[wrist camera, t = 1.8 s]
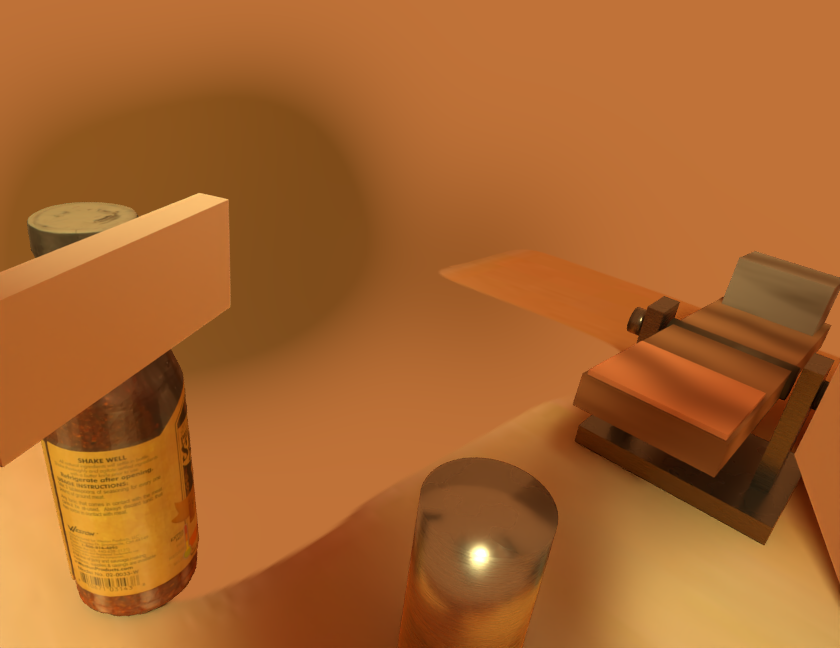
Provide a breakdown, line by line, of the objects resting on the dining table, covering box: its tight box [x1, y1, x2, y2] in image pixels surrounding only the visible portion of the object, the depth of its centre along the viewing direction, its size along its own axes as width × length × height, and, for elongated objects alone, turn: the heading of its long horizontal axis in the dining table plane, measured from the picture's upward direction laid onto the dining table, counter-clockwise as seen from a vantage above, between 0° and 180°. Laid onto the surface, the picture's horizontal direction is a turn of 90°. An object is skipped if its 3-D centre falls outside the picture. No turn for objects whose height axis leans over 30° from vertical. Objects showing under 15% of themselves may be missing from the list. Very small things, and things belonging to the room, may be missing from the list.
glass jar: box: [398, 458, 558, 648], centre depth 30 cm, size 6×6×10 cm
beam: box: [573, 251, 840, 477], centre depth 44 cm, size 30×9×6 cm, turn 139°
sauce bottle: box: [27, 202, 199, 616], centre depth 30 cm, size 7×6×20 cm
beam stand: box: [575, 296, 834, 545], centre depth 46 cm, size 10×14×11 cm
